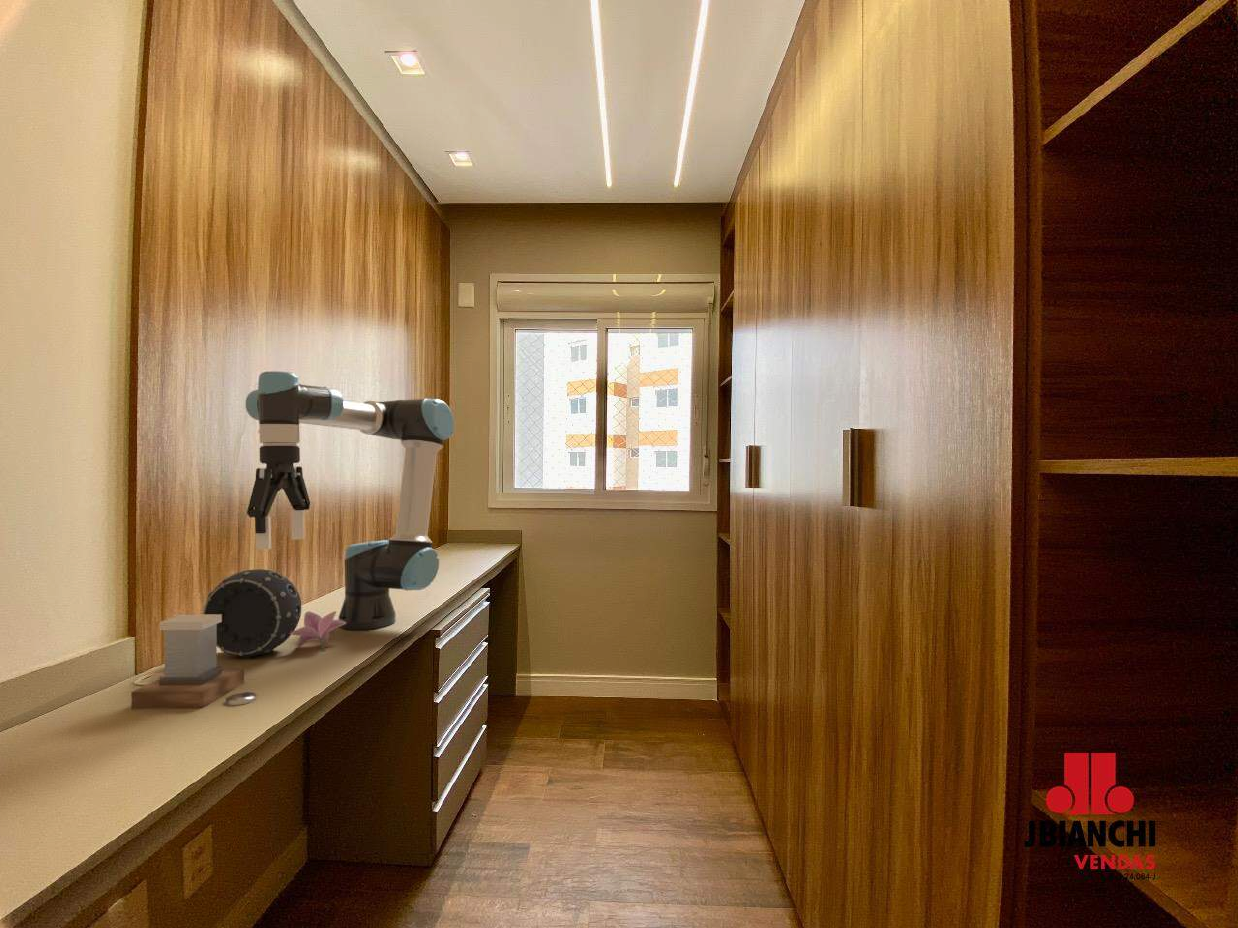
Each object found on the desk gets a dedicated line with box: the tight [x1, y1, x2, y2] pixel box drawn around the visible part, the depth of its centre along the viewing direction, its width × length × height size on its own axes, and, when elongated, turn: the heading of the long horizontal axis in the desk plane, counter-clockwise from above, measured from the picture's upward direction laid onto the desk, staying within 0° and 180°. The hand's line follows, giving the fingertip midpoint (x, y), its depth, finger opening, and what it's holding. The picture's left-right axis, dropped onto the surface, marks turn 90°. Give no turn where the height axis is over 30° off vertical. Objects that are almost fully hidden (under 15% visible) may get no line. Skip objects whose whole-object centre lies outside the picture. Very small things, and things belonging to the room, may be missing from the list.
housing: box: [158, 613, 222, 685], centre depth 120 cm, size 6×8×12 cm
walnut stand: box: [130, 667, 245, 709], centre depth 120 cm, size 13×13×3 cm
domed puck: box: [225, 691, 258, 707], centre depth 117 cm, size 5×5×1 cm
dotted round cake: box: [202, 568, 302, 659], centre depth 146 cm, size 11×20×20 cm, turn 91°
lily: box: [290, 611, 346, 652], centre depth 150 cm, size 12×12×10 cm
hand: (281, 544), depth 131 cm, fingers open, 13 cm apart
